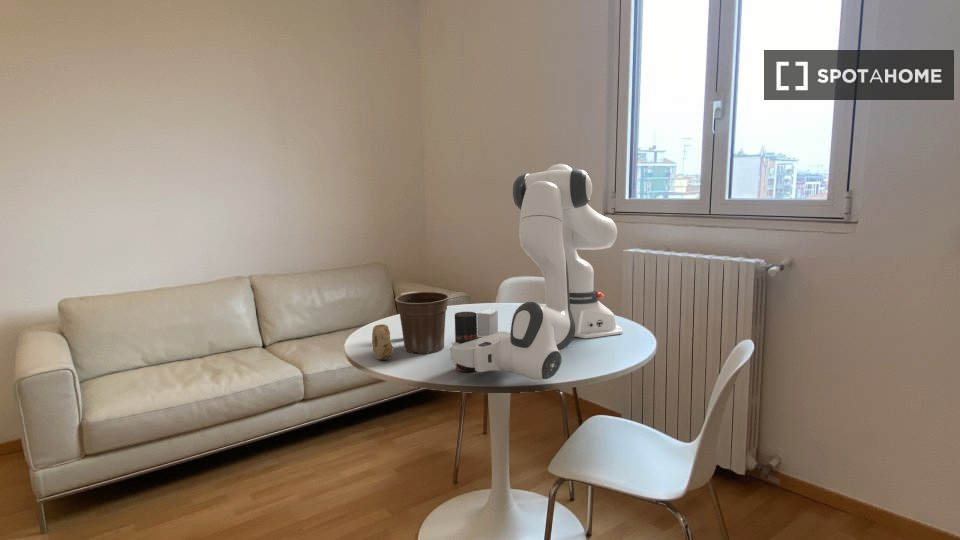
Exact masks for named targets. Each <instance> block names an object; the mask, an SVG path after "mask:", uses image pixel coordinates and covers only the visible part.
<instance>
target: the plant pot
mask: <svg viewBox="0 0 960 540" xmlns="http://www.w3.org/2000/svg"><path fill="white" fill-rule="evenodd" d="M415 292H416V293H408V294H404V295H401V294H400V295H398V296H396V297H395V298H394V300H395V303H396V305H397V309H398V310H397V311H398V313H399V317H400V324H401V332H402V338H403V345H404V347H403V348H404V350H405V351H406V352H408V353H411V354H414V353H418V354H419V353H420V354H432V352H433V353H436V352H438V351H441V350H442V349H444V347H445V331H446V313H447V310H448V300H449V299H450V296H449V295H448V294H446V293H443V292H436V291H415ZM420 354H419V355H420Z"/></svg>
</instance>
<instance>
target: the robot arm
mask: <svg viewBox="0 0 960 540" xmlns="http://www.w3.org/2000/svg"><path fill="white" fill-rule="evenodd" d="M592 194H593V184H592V179H591V178H590V175H589V173H587V171H585V170H583V169H579V168H572V167H570V166H569V165H567V164H566V163H565V164H564V163H558V164H553V165H552V166H550V167H549V168H547V170H545V171H539V172H538V171H537V172H532V173H524V174H522V175H519V176H518V177H517V178H516V179H515V180H514V181H513V185H512V199H513V203H514V205H515V206H516V207H517V208H518V209H519V210H520V214H519V225H518V226H519V227H518V236H519V244H520V247H521V248H522V250H523V251H524V253H525V254H526V255H527V257H529V258H530V259H531V260H532V261H533V262H534V263H535V264H536V266H537V267H538V268H539V270H540V271H541V273H542V275H543V278H544V287H545V288H544V289H545V291H544V292H545V305H544V304H540V303H537V302H535V301H527V302H524V303H522V304H521V305H519V306H518V307H517V308H516V310H515V311H514V313H513V316H512V319H511V325H510V333H509V332H507V331H498V333H494V334H491V335H488V336H477V339H475V340H472V341H469V342H465V343H462V344H461V342H458V341H457V342H455V341H453V342H452V346H451V347H450V352H449V353H450V354H449V355H450V360H451V362H453V363H454V364H456V363H457V364H459V365H462V366H465V367H470V368H475V370H474V371H475V372H478V373H485V372H492V371H498V372H499V371H500V372H501V371H503V372H505V373H506V372H507V373H515V374H516V375H518V376H519V377H523V378H528V379H531V380H537V381H542V380H549V379H551V378H553V376H555V375H556V374H557V372H558V371H559V369H560V368H561V364H562V354H561V352H560V351H561V350H563V349H565V348H567V347H568V346H569V345H570V344H571V343H572V341H573V340H574V337H575V338H576V337H577V338H580V339H591V338H598V337H599V338H600V337H608V336H613V335H622V334H623V328H622V327H621V326H620V325H618V324H617V322H616V321H617V320H616V318H615V314H614V313H613V312H612V310H611V309H609V308H608V307H606V306H605V305H604V304H602V302H600V301H599V300H603V298H604V297H605V295H604V293H603V292H599V291H597V290H594V277H595V276H594V273H595V272H594V267H593V266H592V265H591V263H589V262H588V261H586V260H585V259H583V258H582V257H580V256H579V254H578V251H577V250H592V251H598V250H604V249H610V248H611V247H612V246H613V245H614V244H615V242H616V240H617V237H618V228H617V225H616V223H615V221H613V219H612V218H609V217H607V216H604V215H603V214H602V213H601V214H600V213H598V212H597V211H596V210H595V209H593V208H592V206H591V205H589V203H590V201H591V198H592V197H591V196H592Z"/></svg>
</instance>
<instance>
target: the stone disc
mask: <svg viewBox="0 0 960 540" xmlns="http://www.w3.org/2000/svg"><path fill="white" fill-rule="evenodd" d="M371 338H372V339H371V346H372V347H371V348H372V351H373V354H374V356H375V358H376V359H377V360H378V361H379V360H380V361H381V360H383V361H384V360H390V359H391V358H392V355H393V354H394V353H393V351H394V347H393V344H392V342H391V332H390V329H389V327H388V325H387V324H385V323H383V324H377V325H374V327H373V328H372V335H371Z"/></svg>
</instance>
